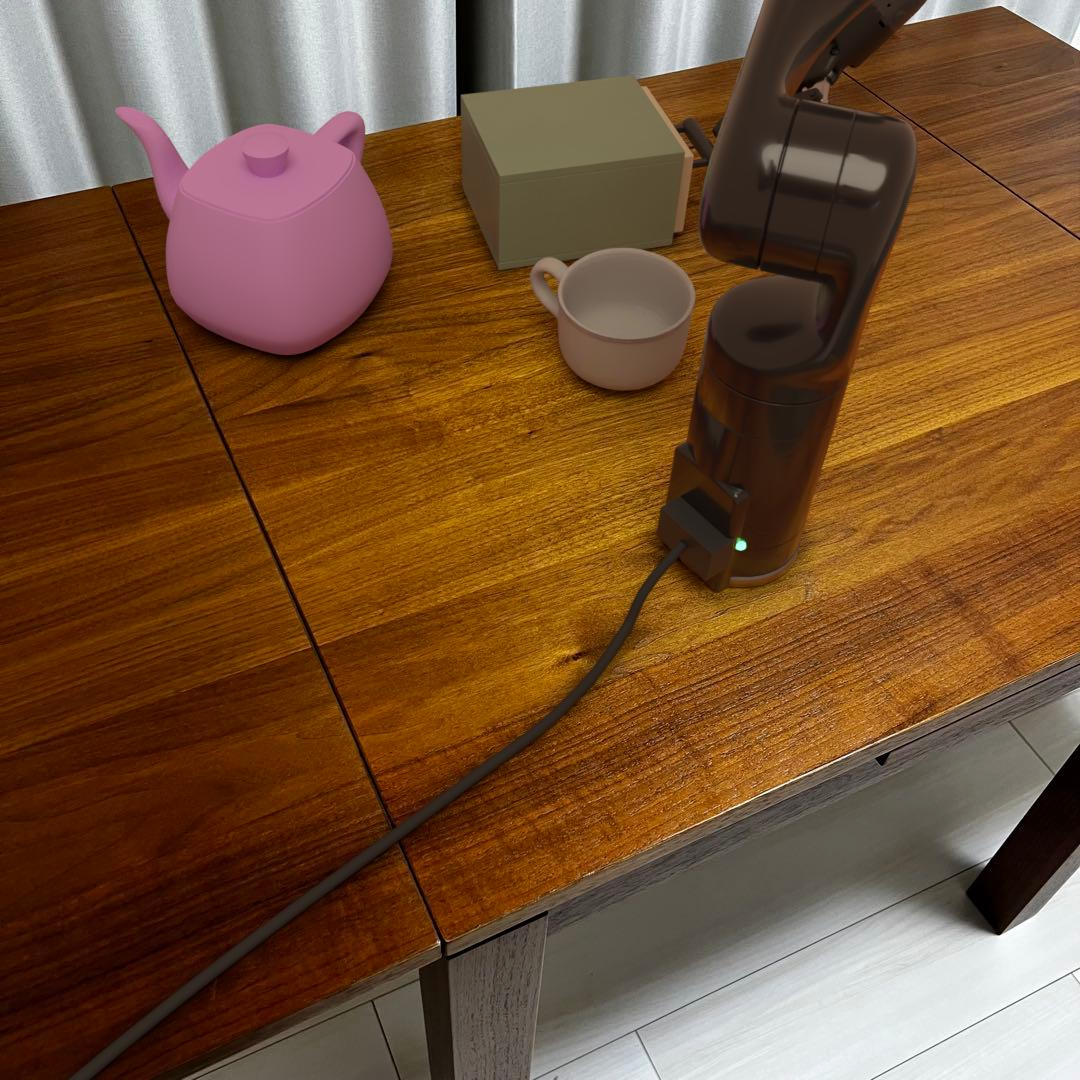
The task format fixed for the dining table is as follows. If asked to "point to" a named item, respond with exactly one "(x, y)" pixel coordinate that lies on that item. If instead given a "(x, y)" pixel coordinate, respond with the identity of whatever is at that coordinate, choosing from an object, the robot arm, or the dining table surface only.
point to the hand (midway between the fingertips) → (719, 141)
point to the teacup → (618, 315)
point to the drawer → (686, 155)
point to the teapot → (271, 231)
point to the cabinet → (569, 170)
